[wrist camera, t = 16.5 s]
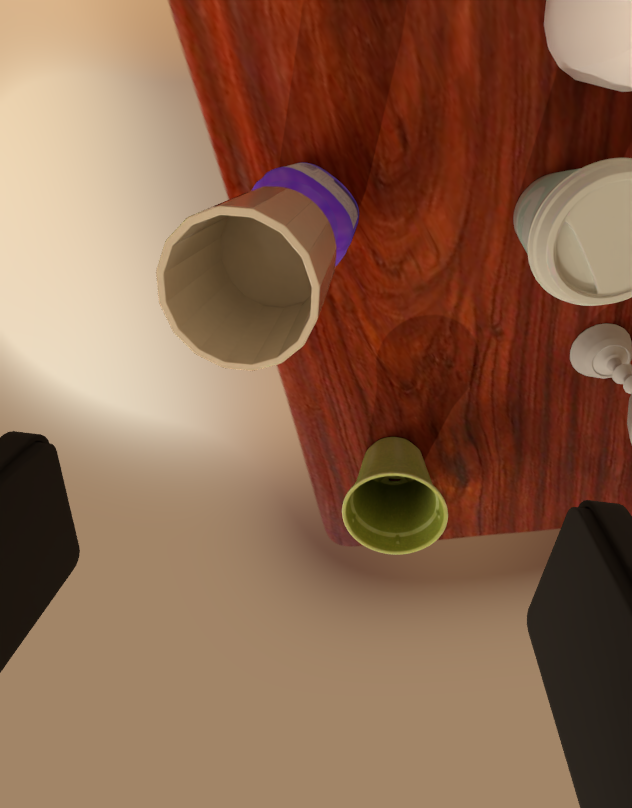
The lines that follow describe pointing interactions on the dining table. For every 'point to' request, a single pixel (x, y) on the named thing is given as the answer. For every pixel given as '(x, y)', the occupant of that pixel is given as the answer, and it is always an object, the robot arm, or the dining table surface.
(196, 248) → the paper cup
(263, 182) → the bottle
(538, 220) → the coffee cup
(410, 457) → the plant pot
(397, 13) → the dining table surface
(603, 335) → the chalice
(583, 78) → the bottle
